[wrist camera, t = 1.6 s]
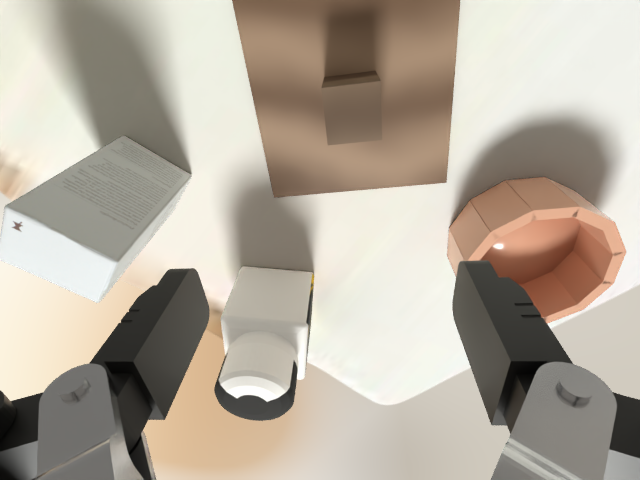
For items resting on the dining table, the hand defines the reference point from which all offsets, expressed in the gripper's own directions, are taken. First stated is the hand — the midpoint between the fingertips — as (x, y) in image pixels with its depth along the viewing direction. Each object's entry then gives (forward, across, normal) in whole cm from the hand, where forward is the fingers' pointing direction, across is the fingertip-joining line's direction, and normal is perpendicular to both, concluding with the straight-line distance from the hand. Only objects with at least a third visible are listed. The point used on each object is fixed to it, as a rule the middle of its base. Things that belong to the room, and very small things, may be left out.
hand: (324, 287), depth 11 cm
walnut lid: (+19, -1, -2) cm, 19 cm away
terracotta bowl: (+19, -15, +10) cm, 26 cm away
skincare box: (+19, +16, +3) cm, 25 cm away
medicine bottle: (+19, +7, +16) cm, 26 cm away
